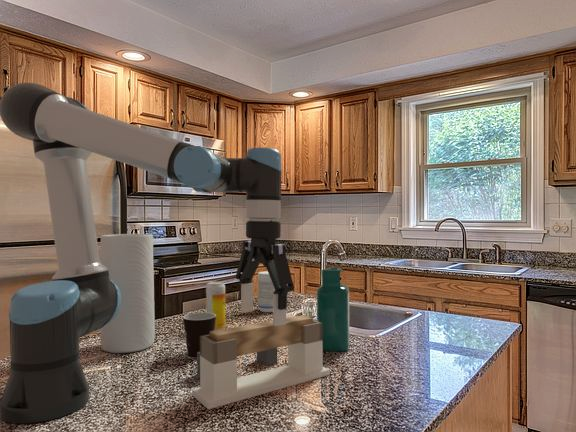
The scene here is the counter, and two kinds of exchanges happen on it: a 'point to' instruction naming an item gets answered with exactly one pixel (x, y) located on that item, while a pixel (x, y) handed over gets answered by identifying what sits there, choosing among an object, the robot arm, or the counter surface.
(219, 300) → the white yellow bottle
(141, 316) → the paper towel roll
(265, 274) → the supplement tub
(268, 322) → the oak rail
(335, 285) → the green square bottle
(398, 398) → the counter surface
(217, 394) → the bracket stand
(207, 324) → the coffee mug
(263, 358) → the blocks
